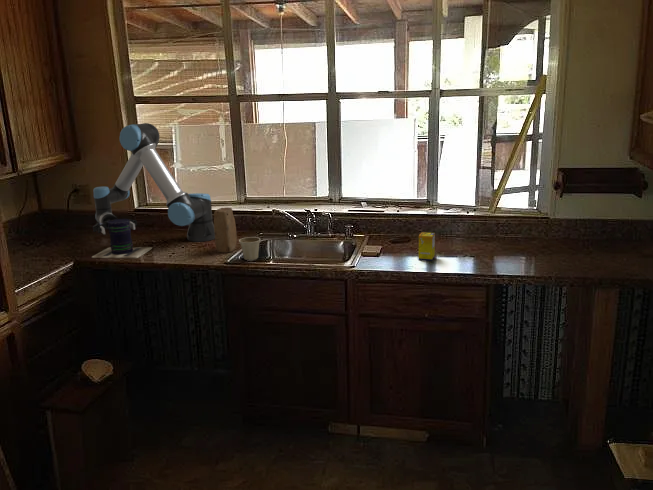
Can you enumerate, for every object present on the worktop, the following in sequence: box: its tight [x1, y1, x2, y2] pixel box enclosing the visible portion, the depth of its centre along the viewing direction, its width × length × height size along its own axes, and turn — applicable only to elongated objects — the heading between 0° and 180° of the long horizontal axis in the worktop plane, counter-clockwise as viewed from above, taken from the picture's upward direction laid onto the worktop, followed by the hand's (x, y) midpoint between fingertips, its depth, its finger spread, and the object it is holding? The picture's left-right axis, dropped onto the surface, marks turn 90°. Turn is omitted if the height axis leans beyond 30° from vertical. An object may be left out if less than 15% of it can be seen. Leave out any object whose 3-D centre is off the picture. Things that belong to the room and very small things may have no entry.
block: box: [213, 207, 238, 254], centre depth 268 cm, size 11×8×20 cm
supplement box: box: [417, 231, 436, 262], centre depth 246 cm, size 6×6×11 cm
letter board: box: [91, 246, 153, 259], centre depth 271 cm, size 22×16×1 cm
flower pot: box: [238, 236, 261, 261], centre depth 255 cm, size 9×9×9 cm
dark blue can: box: [107, 218, 134, 255], centre depth 270 cm, size 10×10×15 cm
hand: (119, 229), depth 268 cm, fingers open, 13 cm apart
